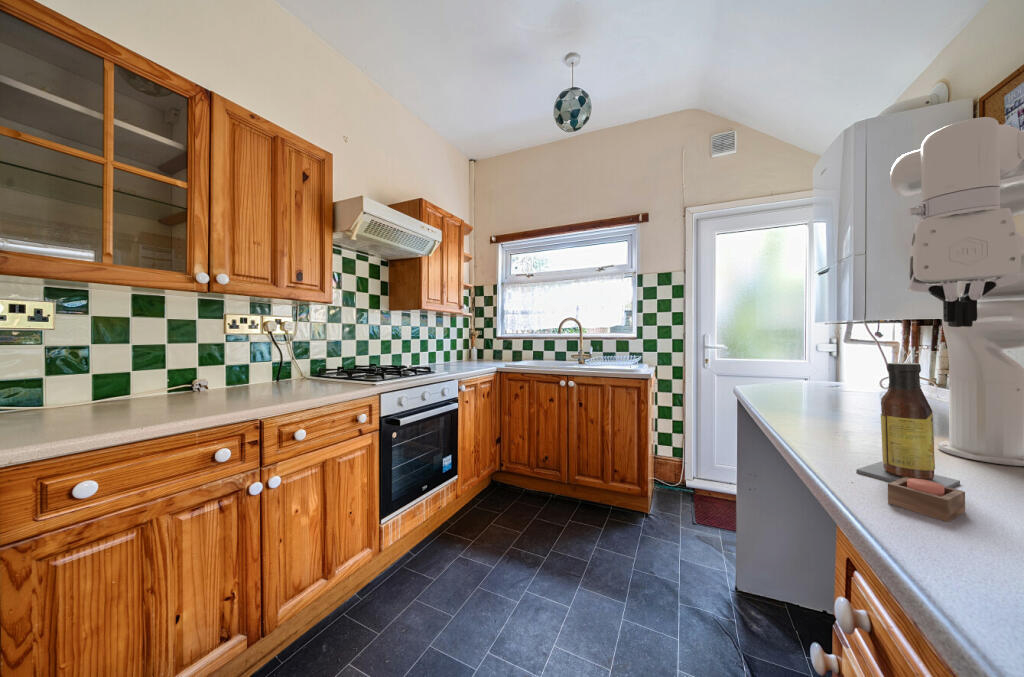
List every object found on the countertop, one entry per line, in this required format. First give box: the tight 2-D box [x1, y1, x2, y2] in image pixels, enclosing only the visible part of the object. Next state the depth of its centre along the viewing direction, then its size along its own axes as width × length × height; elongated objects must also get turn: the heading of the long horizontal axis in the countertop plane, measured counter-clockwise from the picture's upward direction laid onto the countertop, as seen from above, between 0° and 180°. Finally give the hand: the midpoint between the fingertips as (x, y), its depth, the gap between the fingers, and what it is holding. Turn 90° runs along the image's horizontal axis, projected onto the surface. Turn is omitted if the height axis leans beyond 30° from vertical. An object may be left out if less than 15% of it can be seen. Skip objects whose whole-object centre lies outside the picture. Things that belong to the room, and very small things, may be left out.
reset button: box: [907, 478, 944, 497], centre depth 53 cm, size 4×4×2 cm
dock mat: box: [855, 461, 961, 489], centre depth 63 cm, size 9×10×1 cm
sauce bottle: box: [880, 362, 936, 480], centre depth 63 cm, size 6×6×20 cm
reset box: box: [887, 477, 966, 523], centre depth 53 cm, size 6×6×3 cm
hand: (959, 326), depth 56 cm, fingers closed
